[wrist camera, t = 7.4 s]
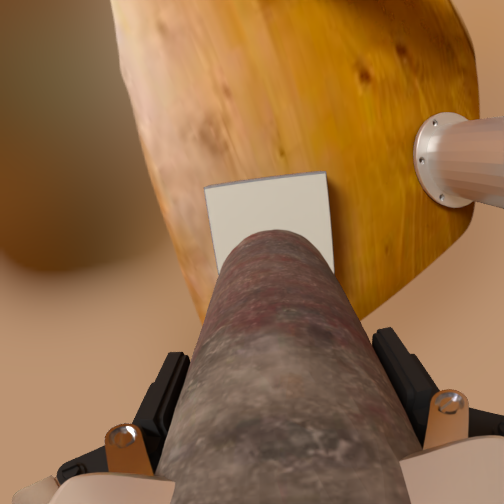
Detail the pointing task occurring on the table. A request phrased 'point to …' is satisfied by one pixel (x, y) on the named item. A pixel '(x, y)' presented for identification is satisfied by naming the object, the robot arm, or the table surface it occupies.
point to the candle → (285, 391)
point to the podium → (270, 211)
